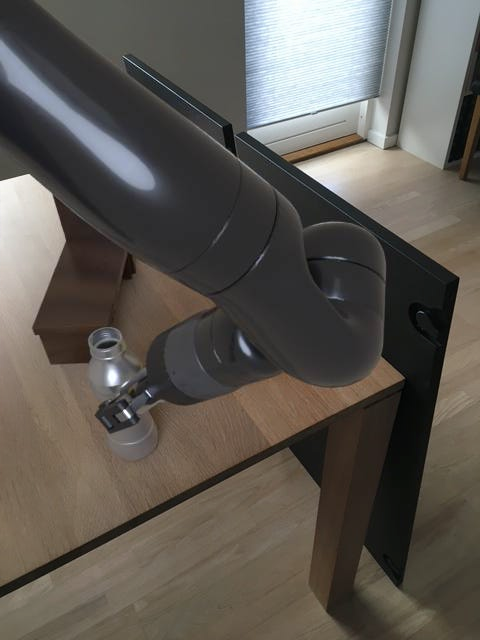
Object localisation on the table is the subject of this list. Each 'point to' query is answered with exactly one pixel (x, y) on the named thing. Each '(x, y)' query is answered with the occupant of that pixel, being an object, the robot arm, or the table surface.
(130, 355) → the plastic bottle
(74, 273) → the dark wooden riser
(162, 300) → the table surface
